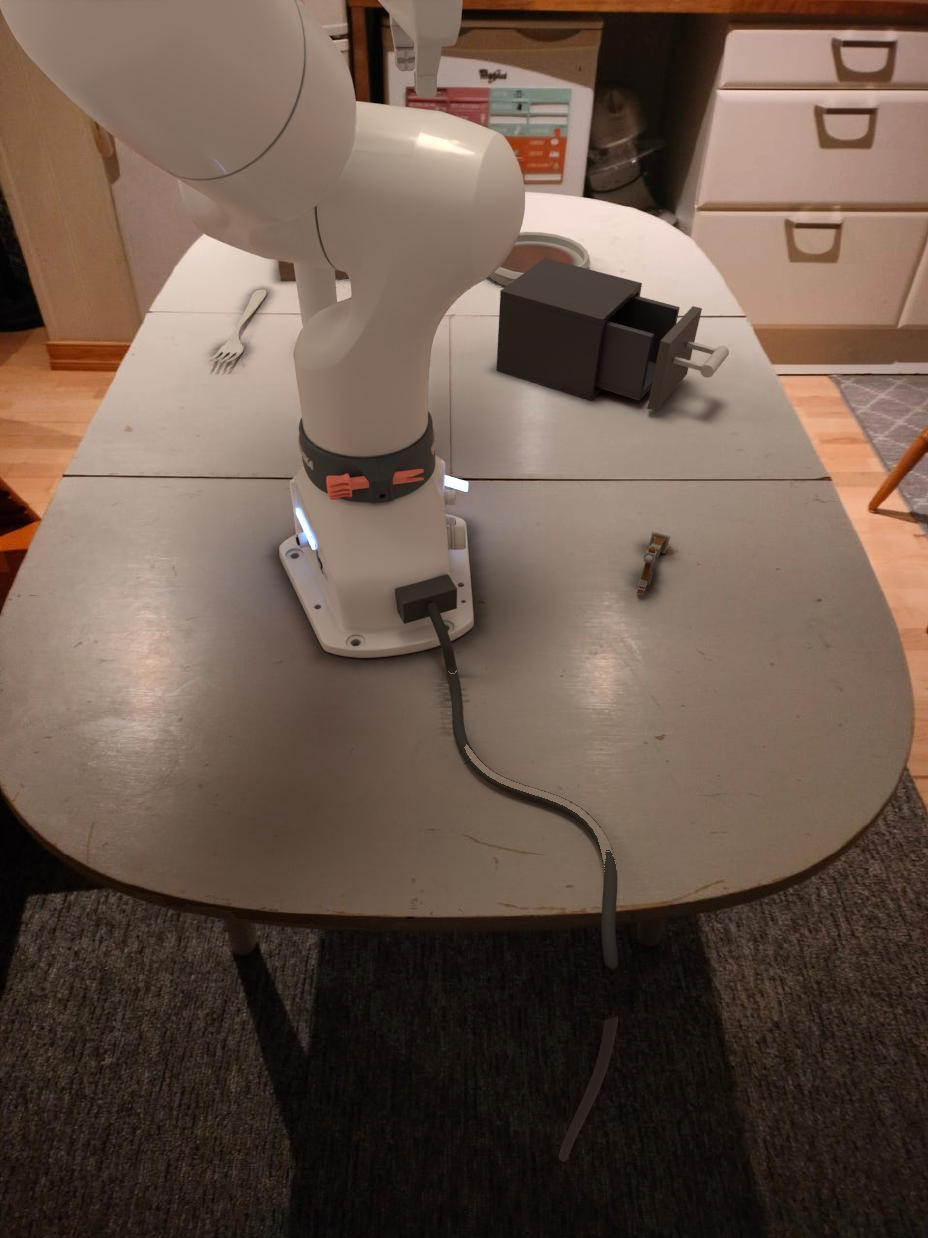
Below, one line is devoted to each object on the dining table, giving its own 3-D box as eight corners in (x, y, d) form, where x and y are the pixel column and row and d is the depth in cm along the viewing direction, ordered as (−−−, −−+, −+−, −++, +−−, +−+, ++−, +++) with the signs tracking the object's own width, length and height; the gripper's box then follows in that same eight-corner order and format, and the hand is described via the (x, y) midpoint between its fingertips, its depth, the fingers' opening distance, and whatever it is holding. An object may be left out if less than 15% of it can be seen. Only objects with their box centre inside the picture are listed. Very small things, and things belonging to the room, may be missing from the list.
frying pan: (403, 236, 133) (576, 226, 136) (404, 255, 136) (575, 245, 138) (413, 283, 122) (603, 271, 124) (414, 302, 124) (601, 290, 126)
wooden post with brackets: (628, 593, 79) (641, 548, 77) (641, 571, 86) (653, 529, 84) (647, 599, 79) (660, 553, 77) (659, 576, 86) (670, 534, 84)
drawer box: (628, 361, 112) (642, 282, 104) (591, 400, 105) (603, 319, 97) (537, 334, 116) (544, 257, 109) (496, 370, 109) (500, 290, 102)
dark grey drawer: (724, 385, 106) (742, 318, 100) (695, 424, 100) (712, 355, 94) (597, 348, 112) (607, 283, 106) (562, 382, 106) (570, 315, 100)
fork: (273, 290, 124) (271, 278, 123) (232, 374, 107) (230, 361, 106) (251, 289, 124) (249, 277, 123) (207, 373, 108) (204, 360, 106)
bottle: (335, 360, 110) (315, 150, 93) (298, 355, 111) (270, 146, 93) (347, 341, 114) (330, 136, 96) (310, 337, 115) (286, 132, 97)
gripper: (353, -126, 76) (363, 56, 86) (396, -98, 62) (402, 114, 72) (422, -125, 77) (424, 53, 87) (479, -98, 63) (474, 111, 73)
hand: (414, 81), depth 79 cm, fingers open, 8 cm apart
